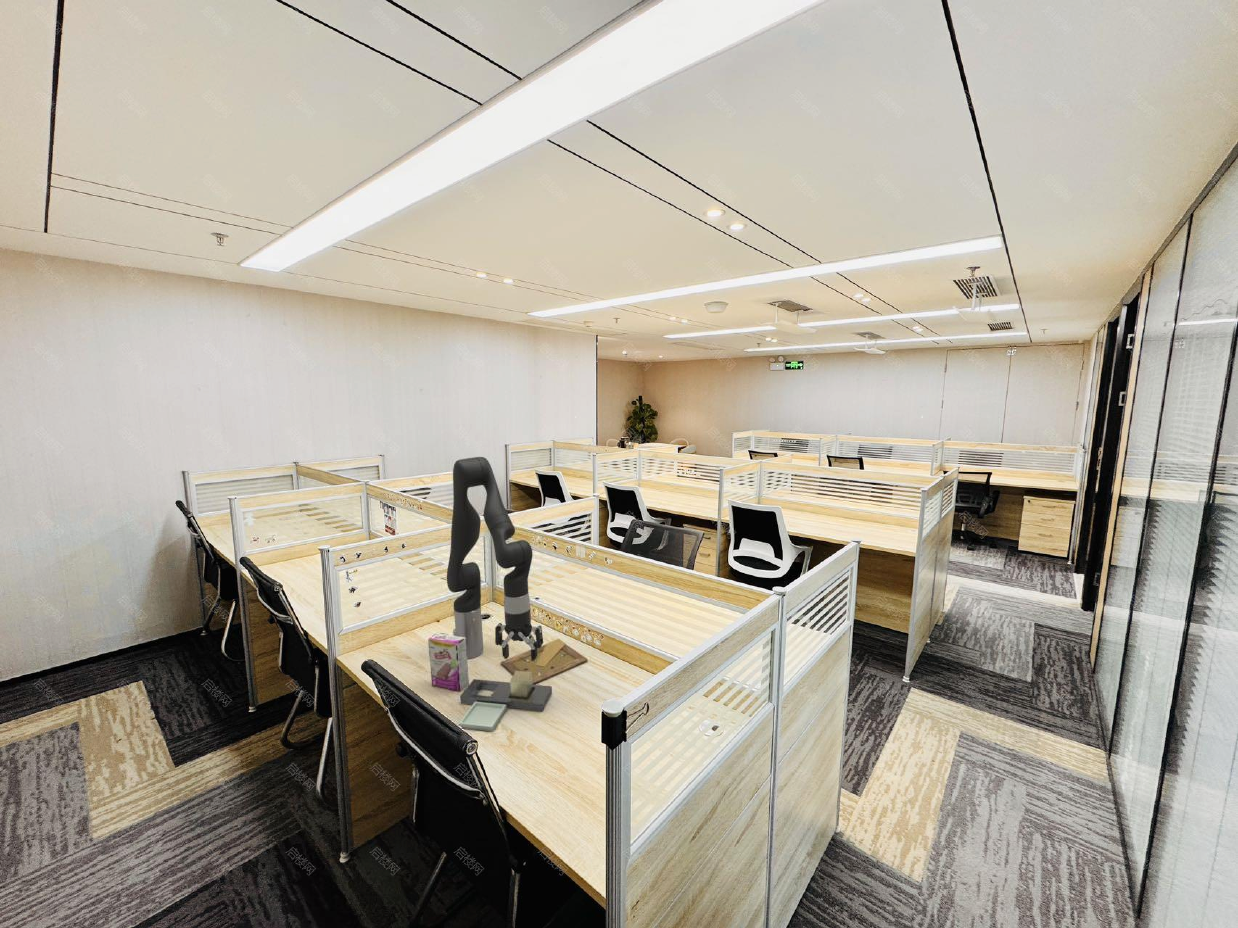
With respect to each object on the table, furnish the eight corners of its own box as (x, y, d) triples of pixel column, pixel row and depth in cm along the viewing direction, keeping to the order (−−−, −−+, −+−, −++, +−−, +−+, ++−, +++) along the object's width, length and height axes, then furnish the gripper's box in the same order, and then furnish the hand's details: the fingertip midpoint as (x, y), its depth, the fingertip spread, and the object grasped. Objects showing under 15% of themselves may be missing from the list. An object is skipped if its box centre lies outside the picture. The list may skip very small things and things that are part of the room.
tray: (459, 728, 142) (458, 723, 142) (475, 706, 152) (474, 701, 152) (492, 731, 141) (492, 726, 140) (506, 709, 150) (506, 704, 150)
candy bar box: (430, 686, 163) (426, 638, 160) (441, 677, 167) (437, 631, 165) (460, 692, 159) (456, 643, 157) (469, 683, 164) (466, 636, 161)
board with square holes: (460, 703, 153) (460, 695, 153) (474, 686, 162) (473, 679, 162) (542, 711, 149) (542, 703, 148) (552, 693, 158) (551, 686, 157)
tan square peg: (511, 704, 153) (510, 679, 151) (517, 694, 157) (516, 670, 156) (527, 705, 152) (525, 681, 151) (533, 696, 157) (531, 672, 155)
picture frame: (558, 643, 190) (500, 665, 175) (558, 638, 190) (500, 661, 175) (587, 663, 176) (527, 689, 161) (587, 658, 175) (527, 684, 161)
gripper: (489, 611, 148) (492, 663, 150) (535, 614, 145) (538, 667, 147) (499, 601, 155) (503, 650, 157) (544, 603, 152) (546, 653, 155)
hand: (520, 658), depth 152 cm, fingers open, 8 cm apart
